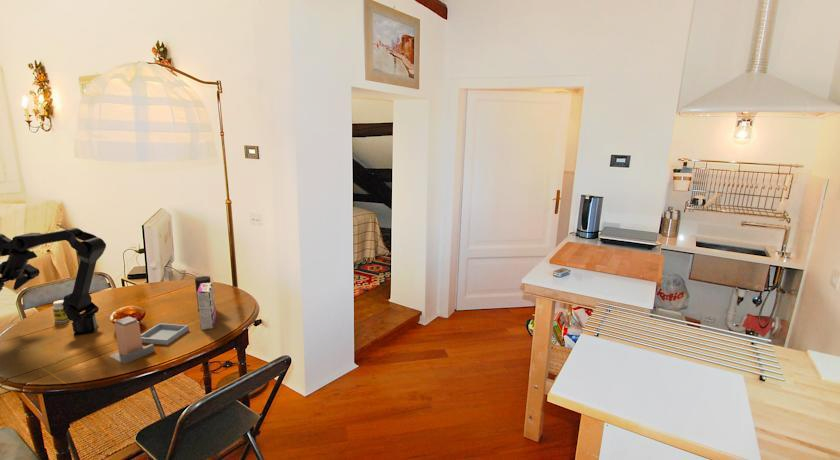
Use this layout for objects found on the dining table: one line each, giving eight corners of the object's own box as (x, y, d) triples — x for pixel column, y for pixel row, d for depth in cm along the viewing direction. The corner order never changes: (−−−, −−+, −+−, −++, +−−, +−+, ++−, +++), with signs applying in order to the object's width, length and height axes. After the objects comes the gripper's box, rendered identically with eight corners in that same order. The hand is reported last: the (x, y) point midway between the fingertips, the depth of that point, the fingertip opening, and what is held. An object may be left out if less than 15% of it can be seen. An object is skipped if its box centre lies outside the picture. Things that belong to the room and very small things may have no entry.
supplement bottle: (53, 323, 169) (49, 304, 167) (56, 319, 173) (53, 300, 171) (68, 321, 171) (64, 302, 169) (71, 317, 175) (68, 298, 173)
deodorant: (215, 309, 186) (212, 278, 182) (201, 313, 182) (197, 281, 178) (210, 306, 190) (207, 275, 186) (196, 309, 185) (192, 278, 182)
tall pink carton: (119, 353, 147) (113, 320, 144) (134, 347, 151) (129, 315, 148) (128, 358, 144) (123, 324, 141) (143, 352, 148) (138, 319, 145)
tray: (136, 343, 155) (135, 337, 154) (160, 328, 167) (159, 323, 166) (167, 345, 154) (166, 340, 153) (188, 330, 166) (188, 325, 165)
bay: (109, 356, 145) (107, 349, 145) (139, 344, 154) (138, 337, 153) (124, 364, 141) (123, 357, 140) (154, 352, 149) (153, 344, 148)
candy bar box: (203, 319, 176) (200, 283, 173) (216, 317, 178) (213, 281, 174) (200, 330, 166) (196, 292, 163) (213, 328, 168) (210, 291, 164)
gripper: (21, 244, 166) (8, 275, 169) (-30, 257, 148) (-44, 291, 151) (46, 259, 167) (33, 289, 170) (-1, 274, 149) (-16, 307, 152)
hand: (3, 293), depth 161 cm, fingers open, 9 cm apart
